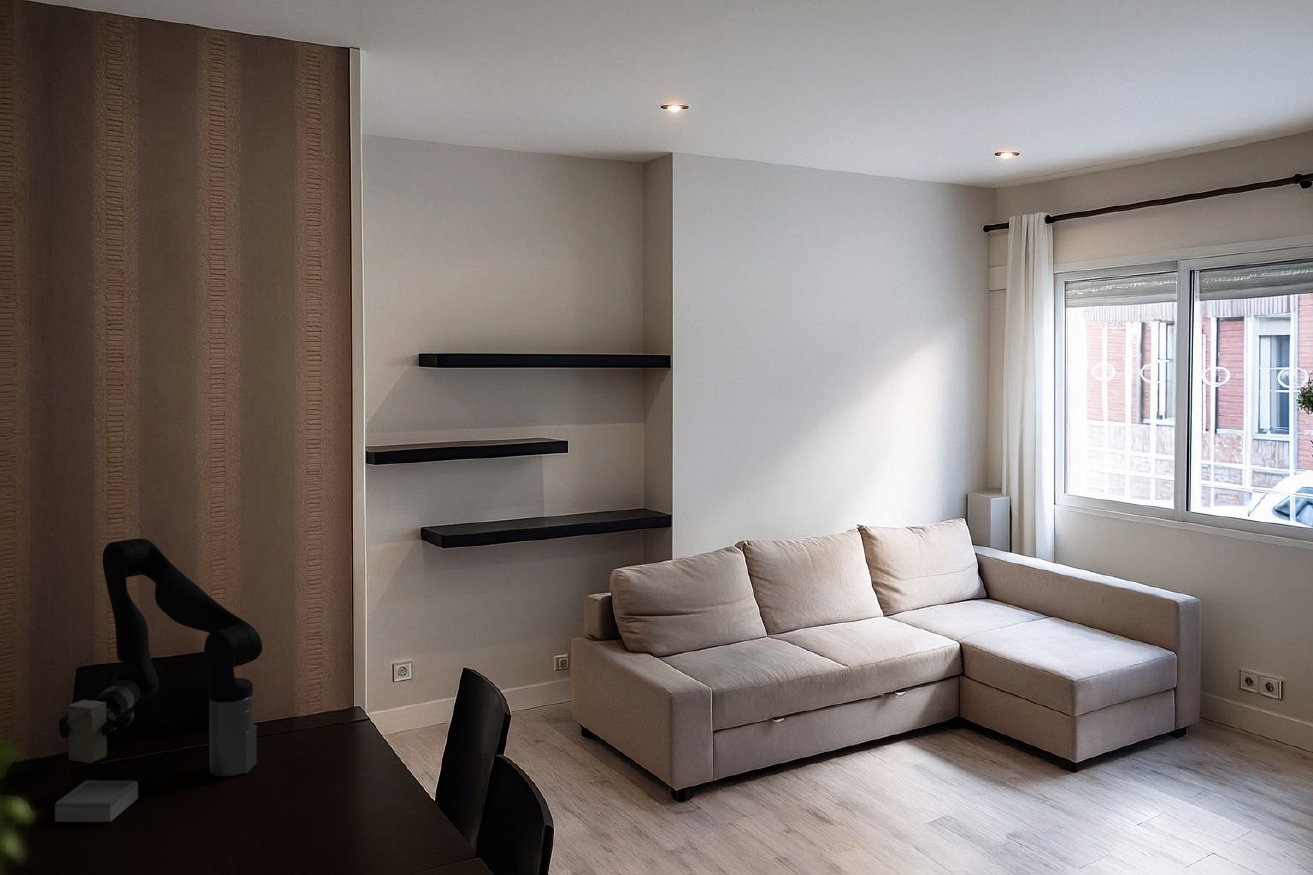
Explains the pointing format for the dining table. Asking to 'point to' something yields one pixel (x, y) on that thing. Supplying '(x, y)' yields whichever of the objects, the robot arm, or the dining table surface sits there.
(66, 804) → the shallow open tray
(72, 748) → the skincare box
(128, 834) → the dining table surface
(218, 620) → the robot arm
